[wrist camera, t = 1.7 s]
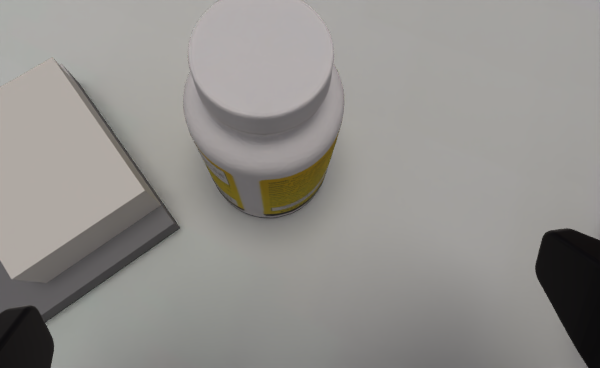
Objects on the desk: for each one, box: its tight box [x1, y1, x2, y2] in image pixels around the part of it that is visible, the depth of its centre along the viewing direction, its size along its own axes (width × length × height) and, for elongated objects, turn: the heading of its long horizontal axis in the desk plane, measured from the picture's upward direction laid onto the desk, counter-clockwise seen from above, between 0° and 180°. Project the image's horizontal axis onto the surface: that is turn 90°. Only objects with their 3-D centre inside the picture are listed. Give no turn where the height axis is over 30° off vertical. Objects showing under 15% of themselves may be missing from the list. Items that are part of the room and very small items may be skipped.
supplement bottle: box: [183, 0, 344, 217], centre depth 17 cm, size 5×5×10 cm
